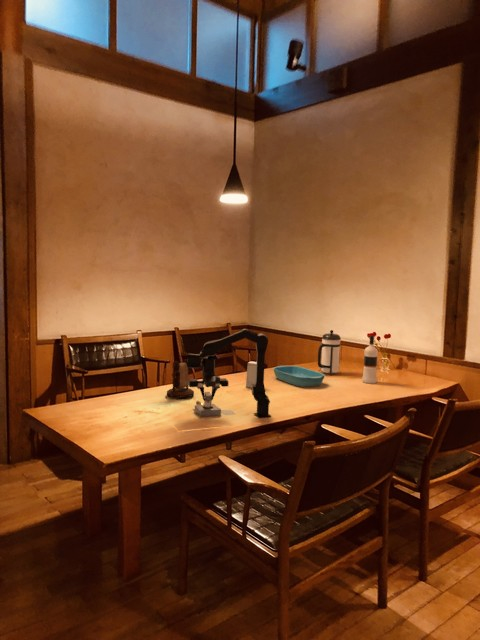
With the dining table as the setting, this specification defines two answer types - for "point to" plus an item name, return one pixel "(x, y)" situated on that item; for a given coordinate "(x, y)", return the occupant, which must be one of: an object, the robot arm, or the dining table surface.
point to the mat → (227, 412)
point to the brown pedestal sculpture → (178, 385)
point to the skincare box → (251, 374)
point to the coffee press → (329, 353)
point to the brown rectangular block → (207, 400)
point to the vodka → (370, 363)
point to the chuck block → (206, 410)
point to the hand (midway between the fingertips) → (207, 400)
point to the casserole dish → (298, 376)
